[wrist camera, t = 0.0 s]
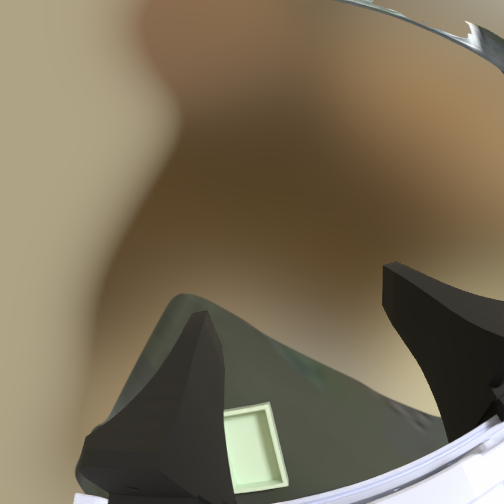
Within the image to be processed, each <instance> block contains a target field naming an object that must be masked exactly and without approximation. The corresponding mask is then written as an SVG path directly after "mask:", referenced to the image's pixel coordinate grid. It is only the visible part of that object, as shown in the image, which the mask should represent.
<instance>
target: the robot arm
mask: <svg viewBox="0 0 504 504" xmlns="http://www.w3.org/2000/svg"><path fill="white" fill-rule="evenodd" d="M382 306H383V308H384V310H385V312H386V314H387V316H388V318H389V320H390V321H391V323H392V325H393V327H394V328H395V329H396V331H397V332H398V334H399V335H400V337H401V338H402V340H403V341H404V343H405V344H406V346H407V347H408V348H409V350H410V352H411V353H412V355H413V356H414V358H415V359H416V360H417V362H418V364H419V366H420V367H421V369H422V371H423V373H424V376H425V378H426V379H427V382H428V384H429V386H430V389H431V391H432V393H433V396H434V398H435V401H436V403H437V406H438V409H439V411H440V414H441V417H442V420H443V424H444V427H445V431H446V434H447V438H448V442H449V444H448V445H446V446H444V447H442V448H440V449H438V450H436V451H434V452H432V453H430V454H428V455H426V456H424V457H422V458H420V459H418V460H416V461H414V462H411V463H409V464H407V465H405V466H402V467H400V468H398V469H395V470H393V471H390V472H388V473H385V474H383V475H380V476H377V477H374V478H372V479H369V480H366V481H363V482H360V483H357V484H354V485H351V486H346V487H343V488H339V489H336V490H332V491H328V492H325V493H321V494H317V495H312V496H308V497H304V498H299V499H296V500H291V501H285V502H280V503H274V504H365V503H367V504H504V482H503V481H504V301H500V300H495V299H491V298H486V297H482V296H478V295H475V294H472V293H469V292H466V291H463V290H460V289H457V288H455V287H452V286H450V285H447V284H445V283H443V282H440V281H438V280H436V279H434V278H431V277H429V276H427V275H425V274H423V273H421V272H418V271H416V270H414V269H412V268H410V267H408V266H405V265H403V264H400V263H398V262H393V263H389V264H386V265H383V291H382ZM224 373H225V368H224V358H223V350H222V345H221V343H220V340H219V338H218V335H217V333H216V330H215V328H214V326H213V323H212V321H211V318H210V316H209V313H208V310H206V311H201V312H197V313H193V314H192V315H191V317H190V319H189V320H188V322H187V324H186V326H185V328H184V330H183V331H182V333H181V335H180V337H179V338H178V340H177V342H176V343H175V345H174V347H173V349H172V350H171V352H170V354H169V355H168V357H167V358H166V360H165V361H164V363H163V364H162V366H161V367H160V369H159V370H158V371H157V373H156V374H155V375H154V377H153V378H152V379H151V380H150V381H149V383H148V384H147V385H146V386H145V387H144V388H143V390H142V391H141V392H140V393H139V394H138V395H137V396H136V397H135V398H134V399H133V400H132V401H131V402H130V403H129V404H128V405H127V406H126V407H125V408H124V409H122V410H121V411H120V412H119V413H118V414H117V415H115V416H114V417H113V418H112V419H111V420H109V421H108V422H107V423H105V424H104V425H103V426H101V427H100V428H98V429H97V430H95V431H94V432H92V433H91V434H90V435H88V436H87V437H86V438H85V442H84V445H83V449H82V453H81V458H80V462H79V466H78V468H79V471H80V472H81V474H82V475H83V476H84V477H85V478H87V479H88V480H89V481H91V482H93V483H94V484H96V485H97V486H99V487H101V488H102V489H104V490H105V491H107V492H109V500H108V499H105V498H102V497H98V496H92V495H87V494H82V493H75V497H74V503H73V504H237V503H236V499H235V494H234V489H233V484H232V478H231V472H230V466H229V460H228V453H227V445H226V437H225V428H224ZM452 464H453V465H452ZM451 465H452V466H451ZM449 466H450V467H449ZM447 467H448V468H447ZM445 468H446V469H445ZM443 469H444V470H443ZM440 471H441V472H440ZM438 472H439V473H438ZM436 473H437V474H436ZM434 474H435V475H434ZM432 475H433V476H432ZM430 476H431V477H430ZM428 477H429V478H428ZM426 478H427V479H426ZM424 479H425V480H424ZM422 480H423V481H422ZM420 481H421V482H420ZM417 482H419V483H417ZM415 483H416V484H415ZM413 484H414V485H413ZM411 485H412V486H411ZM409 486H410V487H409ZM406 487H407V488H406ZM404 488H405V489H404ZM402 489H403V490H402ZM399 490H401V491H399ZM397 491H398V492H397ZM394 492H396V493H394ZM392 493H393V494H392ZM389 494H391V495H389ZM387 495H388V496H387ZM384 496H386V497H384ZM382 497H383V498H382ZM379 498H380V499H379ZM376 499H378V500H376ZM373 500H375V501H373ZM371 501H372V502H371ZM368 502H370V503H368Z"/></svg>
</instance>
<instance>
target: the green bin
mask: <svg viewBox="0 0 504 504" xmlns="http://www.w3.org/2000/svg"><path fill="white" fill-rule="evenodd" d="M224 428H225V437H226V445H227V453H228V460H229V466H230V472H231V478H232V484H233V489H234V494H235V493H244V492H252V491H260V490H266V489H273V488H278V487H284V486H288V475H287V471H286V467H285V463H284V459H283V455H282V451H281V447H280V443H279V438H278V434H277V430H276V426H275V422H274V417H273V413H272V409H271V405H270V402H265V403H260V404H255V405H250V406H244V407H238V408H233V409H226V410H224Z"/></svg>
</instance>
